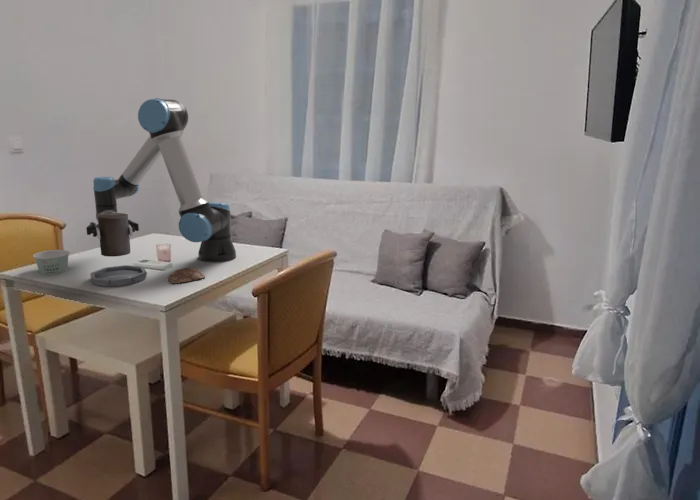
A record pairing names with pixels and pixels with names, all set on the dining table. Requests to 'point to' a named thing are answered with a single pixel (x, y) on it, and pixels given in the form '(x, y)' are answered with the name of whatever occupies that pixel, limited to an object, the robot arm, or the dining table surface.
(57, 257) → the food container
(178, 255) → the dining table surface
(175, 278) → the shell
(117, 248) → the pillar candle
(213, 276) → the dining table surface
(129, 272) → the tray
